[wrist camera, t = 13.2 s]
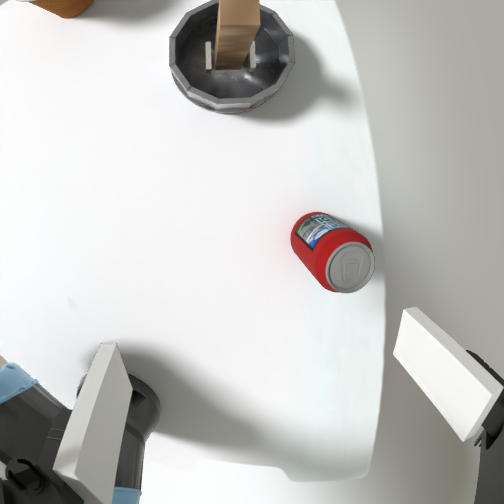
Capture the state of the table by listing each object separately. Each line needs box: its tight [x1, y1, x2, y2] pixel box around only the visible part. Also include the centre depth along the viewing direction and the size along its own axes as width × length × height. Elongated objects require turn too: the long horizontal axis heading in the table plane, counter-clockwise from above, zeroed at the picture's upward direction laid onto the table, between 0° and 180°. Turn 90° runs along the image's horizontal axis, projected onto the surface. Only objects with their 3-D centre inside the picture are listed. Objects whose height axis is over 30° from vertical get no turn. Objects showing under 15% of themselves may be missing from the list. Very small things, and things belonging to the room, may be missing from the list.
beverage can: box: [291, 212, 375, 293], centre depth 34 cm, size 7×7×12 cm
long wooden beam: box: [215, 0, 260, 70], centre depth 24 cm, size 3×3×14 cm
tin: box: [169, 0, 295, 113], centre depth 29 cm, size 14×14×5 cm
